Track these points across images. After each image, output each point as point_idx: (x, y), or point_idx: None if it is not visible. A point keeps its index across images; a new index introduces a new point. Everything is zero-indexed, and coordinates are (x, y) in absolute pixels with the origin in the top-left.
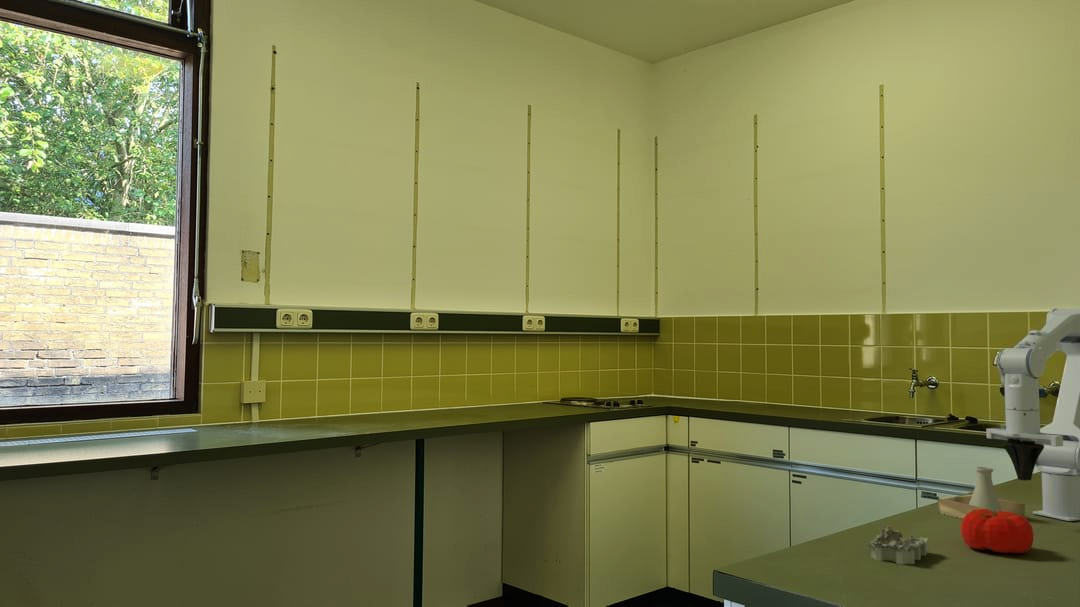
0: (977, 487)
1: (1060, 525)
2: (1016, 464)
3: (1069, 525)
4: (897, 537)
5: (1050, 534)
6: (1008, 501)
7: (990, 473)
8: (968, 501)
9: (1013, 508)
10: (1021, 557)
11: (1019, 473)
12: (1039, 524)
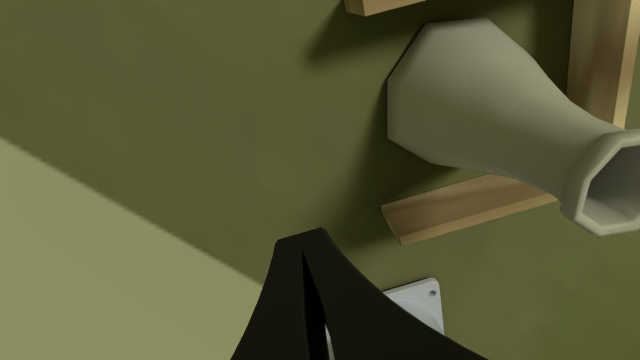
0: (547, 93)
1: None
2: (329, 290)
3: None
4: None
5: (138, 143)
6: (463, 219)
7: (559, 191)
8: None
9: (430, 212)
10: None
11: (303, 252)
12: (303, 210)
